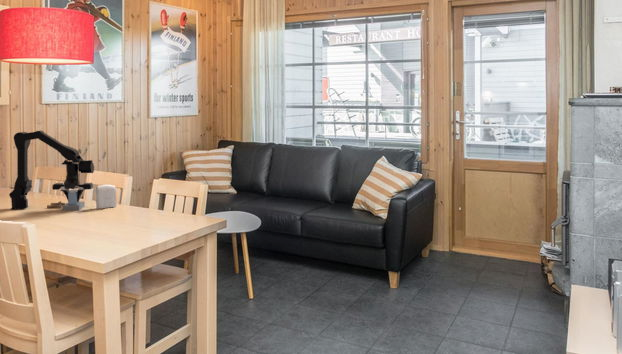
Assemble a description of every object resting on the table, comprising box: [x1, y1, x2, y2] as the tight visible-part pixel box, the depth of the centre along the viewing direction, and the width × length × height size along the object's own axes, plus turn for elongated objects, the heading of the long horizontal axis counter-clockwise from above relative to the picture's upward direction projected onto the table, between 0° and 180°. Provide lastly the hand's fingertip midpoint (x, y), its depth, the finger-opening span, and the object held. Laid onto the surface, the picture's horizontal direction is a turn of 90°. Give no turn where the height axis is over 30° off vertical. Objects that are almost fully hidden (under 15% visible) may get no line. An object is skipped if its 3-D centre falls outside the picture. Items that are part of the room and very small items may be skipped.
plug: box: [67, 189, 80, 205], centre depth 268 cm, size 4×4×9 cm
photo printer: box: [95, 184, 117, 210], centre depth 272 cm, size 10×4×12 cm, turn 134°
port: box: [62, 201, 85, 212], centre depth 269 cm, size 8×12×3 cm, turn 11°
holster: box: [46, 200, 66, 209], centre depth 276 cm, size 9×15×2 cm, turn 11°
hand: (73, 202), depth 269 cm, fingers closed on plug, 4 cm apart
